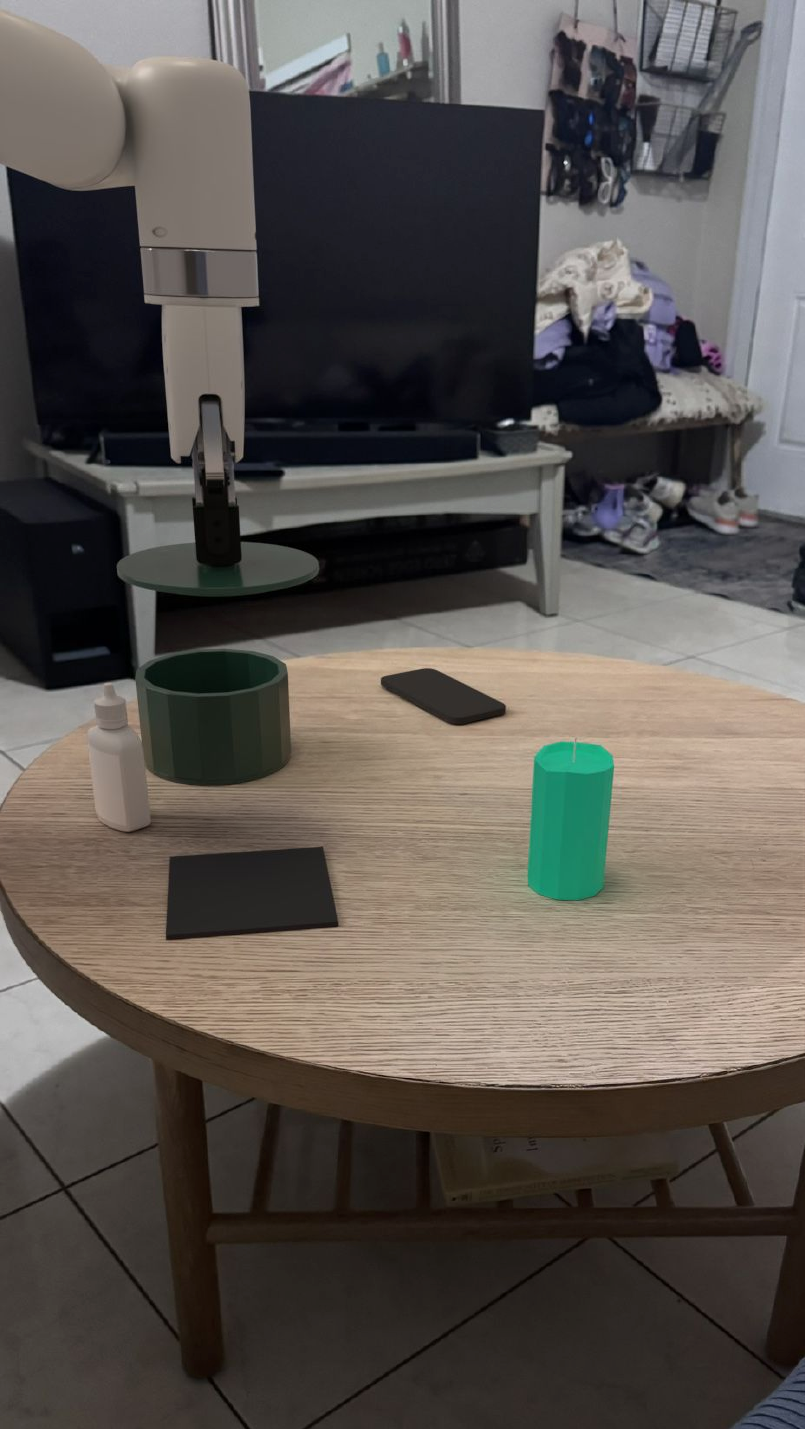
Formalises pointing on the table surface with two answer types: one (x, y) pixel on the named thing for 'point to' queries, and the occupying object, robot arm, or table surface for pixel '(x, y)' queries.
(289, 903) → the mat
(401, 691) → the phone
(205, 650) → the tin
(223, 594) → the tin lid
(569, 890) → the candle
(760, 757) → the table surface
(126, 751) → the eye dropper bottle
